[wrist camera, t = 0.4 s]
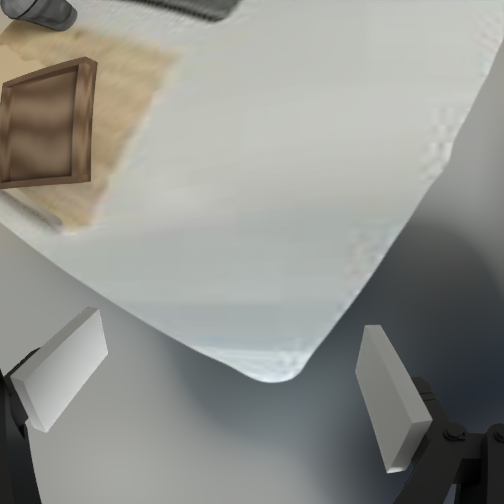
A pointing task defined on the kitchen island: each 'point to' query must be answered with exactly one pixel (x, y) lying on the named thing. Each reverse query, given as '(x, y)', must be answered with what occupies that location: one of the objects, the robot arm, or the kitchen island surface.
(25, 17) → the beverage cup
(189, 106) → the kitchen island surface
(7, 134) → the serving tray
